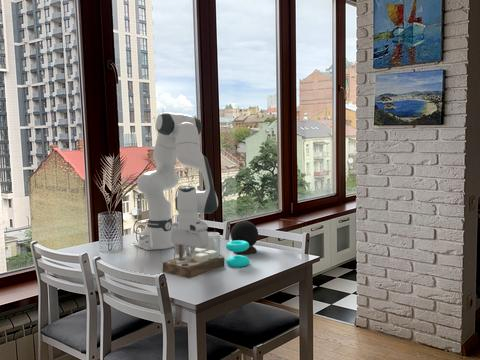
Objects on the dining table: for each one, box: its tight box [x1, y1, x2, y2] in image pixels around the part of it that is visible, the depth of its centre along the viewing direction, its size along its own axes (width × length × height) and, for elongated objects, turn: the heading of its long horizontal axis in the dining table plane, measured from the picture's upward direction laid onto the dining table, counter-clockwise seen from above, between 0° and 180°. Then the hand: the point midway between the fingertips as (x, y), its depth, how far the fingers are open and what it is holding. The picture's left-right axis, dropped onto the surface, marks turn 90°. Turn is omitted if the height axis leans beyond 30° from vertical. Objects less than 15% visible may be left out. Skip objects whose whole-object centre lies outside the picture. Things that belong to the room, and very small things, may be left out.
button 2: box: [194, 253, 209, 263], centre depth 212 cm, size 4×4×4 cm
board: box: [161, 255, 226, 279], centre depth 214 cm, size 16×21×4 cm
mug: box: [203, 231, 221, 256], centre depth 233 cm, size 12×8×10 cm
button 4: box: [204, 250, 218, 259], centre depth 217 cm, size 4×4×4 cm
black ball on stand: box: [230, 220, 259, 256], centre depth 240 cm, size 13×13×15 cm
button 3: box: [193, 248, 206, 255], centre depth 221 cm, size 4×4×4 cm
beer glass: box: [173, 243, 186, 259], centre depth 231 cm, size 7×7×15 cm
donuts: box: [225, 240, 250, 268], centre depth 218 cm, size 10×10×10 cm
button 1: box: [182, 255, 194, 260], centre depth 217 cm, size 4×4×4 cm
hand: (189, 255), depth 217 cm, fingers closed, pressing on button 1
